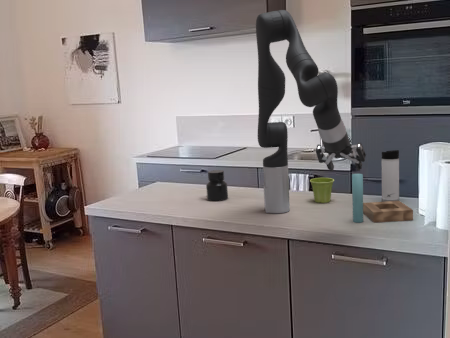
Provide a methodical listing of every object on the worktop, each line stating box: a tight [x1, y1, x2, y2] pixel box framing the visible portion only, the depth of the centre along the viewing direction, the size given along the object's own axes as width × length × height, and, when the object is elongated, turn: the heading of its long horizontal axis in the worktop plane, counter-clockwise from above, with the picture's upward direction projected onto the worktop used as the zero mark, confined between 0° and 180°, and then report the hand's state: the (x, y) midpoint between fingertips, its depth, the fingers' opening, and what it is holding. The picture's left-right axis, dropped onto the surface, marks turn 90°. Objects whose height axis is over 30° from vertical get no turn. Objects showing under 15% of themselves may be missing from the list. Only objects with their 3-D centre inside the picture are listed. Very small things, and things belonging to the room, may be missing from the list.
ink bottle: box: [205, 169, 229, 202], centre depth 208 cm, size 10×9×12 cm
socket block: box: [363, 200, 414, 223], centre depth 168 cm, size 13×13×4 cm
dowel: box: [351, 173, 364, 224], centre depth 163 cm, size 3×3×16 cm
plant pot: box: [309, 177, 335, 204], centre depth 193 cm, size 9×9×9 cm
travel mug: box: [381, 149, 400, 202], centre depth 186 cm, size 6×7×20 cm
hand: (345, 169), depth 153 cm, fingers open, 8 cm apart
